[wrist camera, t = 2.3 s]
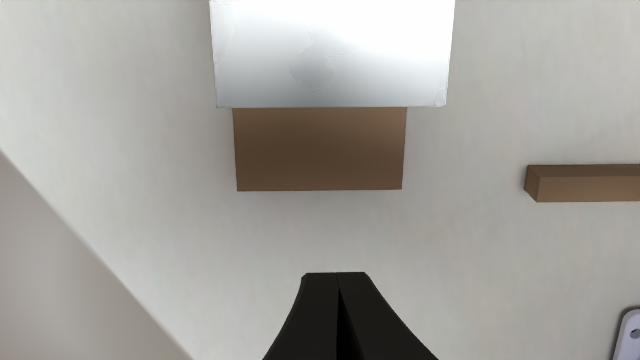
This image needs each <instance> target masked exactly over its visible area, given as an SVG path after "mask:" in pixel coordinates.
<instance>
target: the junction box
mask: <svg viewBox="0 0 640 360" xmlns="http://www.w3.org/2000/svg"><path fill="white" fill-rule="evenodd" d="M209 5H210V19H211V34H212V49H213V63H214V78H215V93H216V107H217V108H265V107H412V106H446V96H447V84H448V73H449V62H450V50H451V39H452V28H453V17H454V5H455V0H209Z"/></svg>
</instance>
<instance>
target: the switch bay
mask: <svg viewBox="0 0 640 360" xmlns="http://www.w3.org/2000/svg"><path fill="white" fill-rule="evenodd" d="M524 190H525V191H526V192H527V193H528V194H529V195H530V196H531V197H532V198H533V199H534V200H535V201H536V202H610V201H640V164H630V165H534V166H528V170H527V176H526V183H525V189H524Z"/></svg>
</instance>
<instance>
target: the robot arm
mask: <svg viewBox="0 0 640 360" xmlns="http://www.w3.org/2000/svg"><path fill="white" fill-rule="evenodd" d="M634 329H636V331H634V332H633V333H631V331H633V330H634ZM262 360H439V359H437V358H436V357H435V356H434V355H433V354H432V353H431V352H430V351H429V350H428V349H427V348H426V347H425V346H424V345H423V344H422V343H421V342H420V340H419V339H418V338H417V337H416V336H415V335H414V334H413V333H412V332H411V331H410V330H409V328H408V327H407V326H406V325H405V324H404V322H403V321H402V320H401V319H400V318H399V317H398V315H397V314H396V313H395V312H394V311H393V309H392V308H391V307H390V305H389V304H388V303H387V302H386V300H385V299H384V298H383V296H382V295H381V293H380V292H379V291H378V289H377V288H376V286H375V285H374V283H373V282H372V280H371V279H370V277H369V276H368V275H367V274H366V273H365V272H336V273H335V272H332V273H306V274H305V275H304V276H303V277H302V278H301V284H300V288H299V291H298V294H297V297H296V299H295V302H294V304H293V307H292V309H291V311H290V313H289V315H288V317H287V319H286V321H285V323H284V325H283V327H282V329H281V330H280V332H279V334H278V336H277V337H276V339H275V340H274V342H273V344H272V345H271V347H270V349H269V350H268V352H267V353H266V355H265V356H264V358H263V359H262ZM613 360H640V309H636V310H631V311H629V312H628V313H627V314H626V315H625V316H624V317H623V320H622V324H621V328H620V332H619V336H618V340H617V344H616V348H615V352H614V356H613Z"/></svg>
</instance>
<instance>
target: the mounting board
mask: <svg viewBox="0 0 640 360" xmlns="http://www.w3.org/2000/svg"><path fill="white" fill-rule="evenodd" d="M232 109H233V126H234V144H235V161H236V178H237V191H312V190H397V189H402V176H403V160H404V144H405V128H406V112H407V107H265V108H232Z"/></svg>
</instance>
